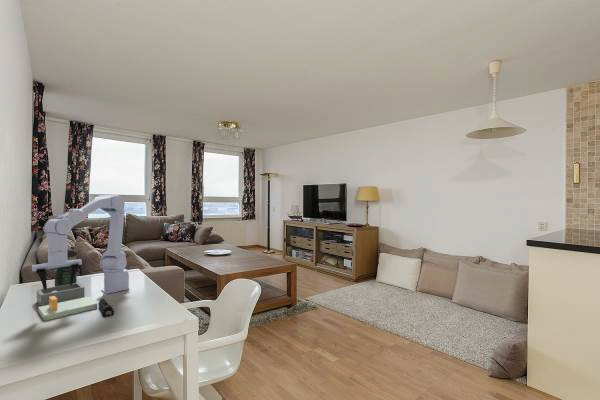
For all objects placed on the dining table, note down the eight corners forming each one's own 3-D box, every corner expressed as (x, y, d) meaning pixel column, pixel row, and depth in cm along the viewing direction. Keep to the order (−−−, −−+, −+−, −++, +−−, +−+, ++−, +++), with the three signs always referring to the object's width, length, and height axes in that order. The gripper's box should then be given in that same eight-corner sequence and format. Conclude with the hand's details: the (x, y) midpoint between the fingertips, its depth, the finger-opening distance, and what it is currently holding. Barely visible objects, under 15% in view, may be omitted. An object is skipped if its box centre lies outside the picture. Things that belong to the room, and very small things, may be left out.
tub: (78, 293, 133) (78, 282, 132) (84, 298, 126) (84, 287, 126) (36, 301, 122) (36, 289, 122) (40, 308, 115) (40, 295, 115)
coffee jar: (78, 288, 140) (78, 249, 140) (57, 292, 134) (56, 251, 134) (73, 284, 147) (73, 246, 146) (53, 287, 141) (53, 248, 140)
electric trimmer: (108, 304, 121) (107, 296, 121) (115, 315, 109) (114, 307, 109) (96, 306, 119) (96, 298, 119) (102, 318, 107) (102, 309, 107)
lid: (88, 300, 124) (88, 286, 124) (97, 307, 116) (97, 293, 116) (38, 311, 112) (38, 296, 112) (44, 320, 104) (44, 304, 104)
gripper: (78, 247, 120) (78, 280, 121) (30, 252, 110) (30, 288, 110) (83, 249, 116) (83, 283, 116) (33, 254, 105) (33, 293, 105)
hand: (58, 286), depth 113 cm, fingers open, 7 cm apart
